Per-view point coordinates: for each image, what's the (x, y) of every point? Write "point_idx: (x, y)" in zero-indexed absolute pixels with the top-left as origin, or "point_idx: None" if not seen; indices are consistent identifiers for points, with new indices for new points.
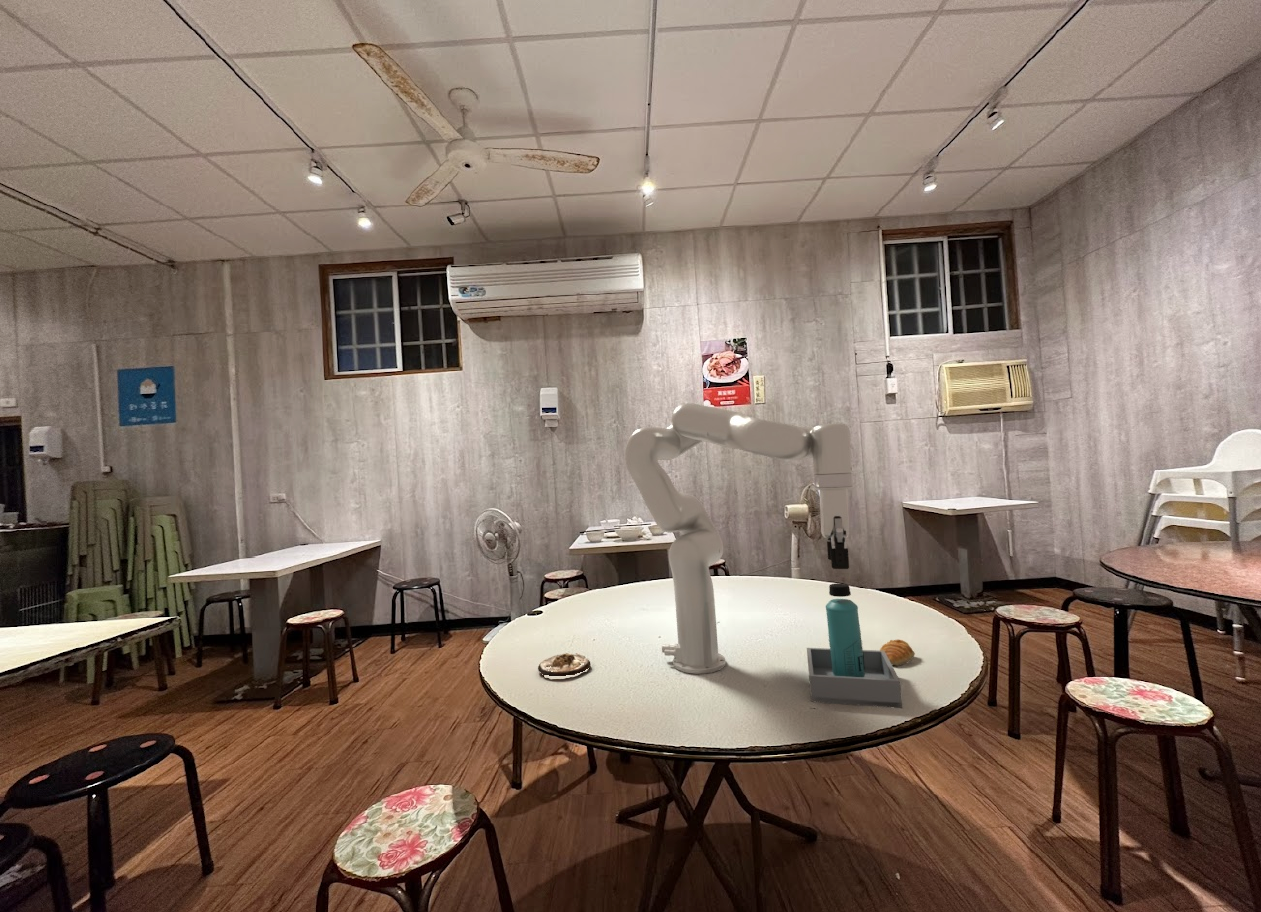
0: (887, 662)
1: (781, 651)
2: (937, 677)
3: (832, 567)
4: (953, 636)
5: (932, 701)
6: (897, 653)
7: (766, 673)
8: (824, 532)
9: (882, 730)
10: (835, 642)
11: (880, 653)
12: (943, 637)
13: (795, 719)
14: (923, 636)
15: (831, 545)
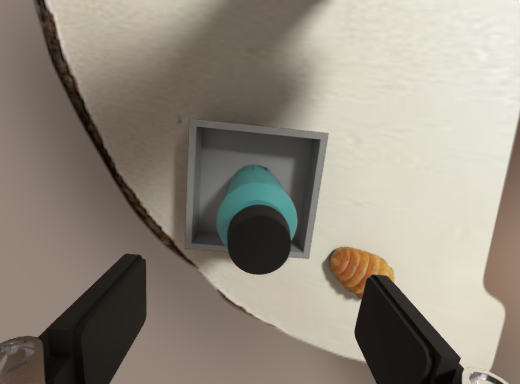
0: None
1: (408, 95)
2: (291, 299)
3: (125, 256)
4: None
5: (218, 271)
6: (343, 275)
7: (304, 57)
8: None
9: (131, 195)
10: (235, 179)
11: (303, 250)
12: None
13: (141, 89)
14: (448, 329)
15: (407, 354)
